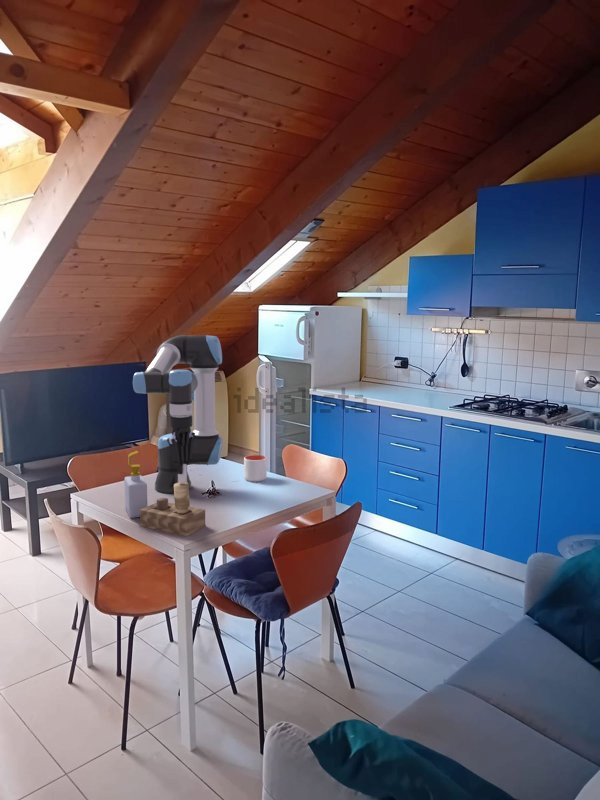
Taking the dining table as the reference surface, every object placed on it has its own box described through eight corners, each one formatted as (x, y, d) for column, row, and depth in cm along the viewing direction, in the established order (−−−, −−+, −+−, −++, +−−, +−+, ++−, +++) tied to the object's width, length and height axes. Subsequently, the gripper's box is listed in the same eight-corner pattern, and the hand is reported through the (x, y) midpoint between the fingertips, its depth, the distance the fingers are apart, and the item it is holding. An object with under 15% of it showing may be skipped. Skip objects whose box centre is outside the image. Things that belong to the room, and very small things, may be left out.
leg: (184, 528, 214) (182, 487, 211) (173, 526, 216) (170, 485, 213) (193, 523, 218) (191, 483, 215) (182, 521, 221) (179, 481, 218)
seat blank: (140, 526, 219) (139, 501, 217) (160, 516, 229) (160, 493, 227) (186, 536, 210) (186, 510, 209) (205, 525, 220) (205, 501, 218)
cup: (265, 482, 273) (265, 460, 271) (243, 482, 273) (242, 460, 271) (267, 476, 283) (267, 455, 281) (245, 476, 283) (245, 454, 281)
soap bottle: (148, 516, 229) (146, 454, 225) (129, 518, 226) (127, 456, 222) (142, 506, 240) (140, 447, 236) (125, 508, 237) (123, 448, 233)
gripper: (178, 419, 204) (179, 488, 207) (201, 413, 215) (202, 479, 219) (160, 417, 207) (161, 485, 211) (183, 411, 218) (185, 476, 222)
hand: (182, 482), depth 215 cm, fingers closed
